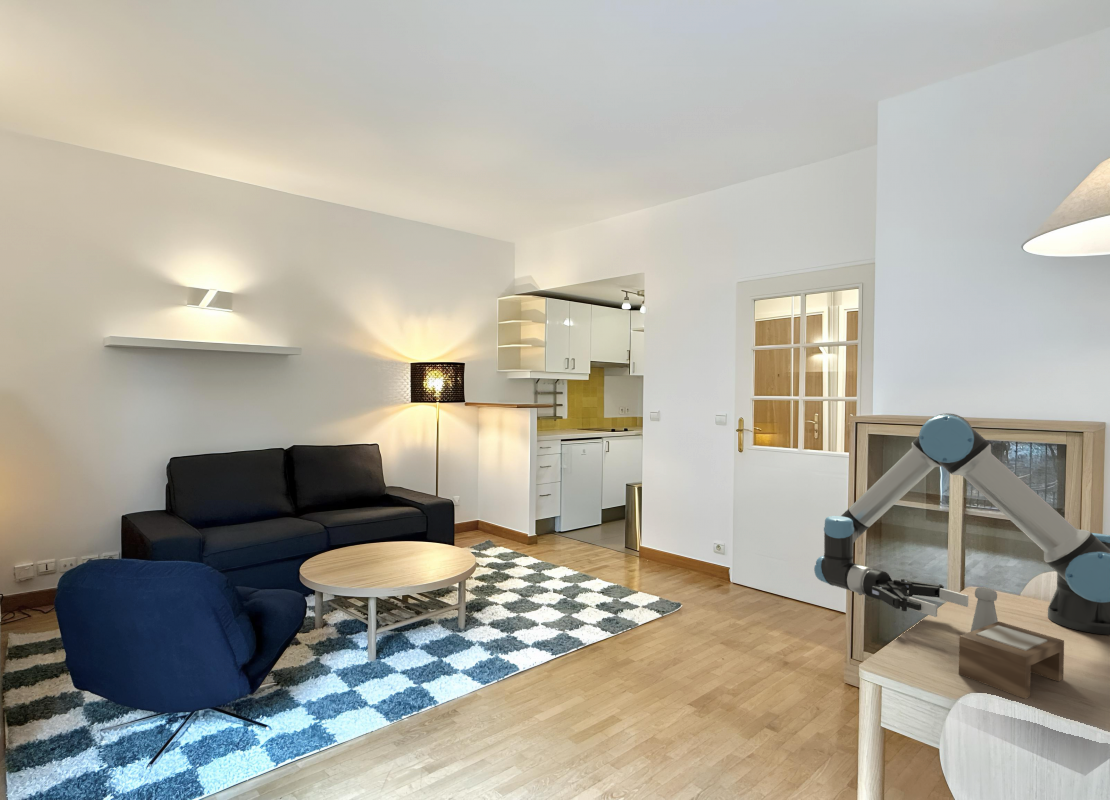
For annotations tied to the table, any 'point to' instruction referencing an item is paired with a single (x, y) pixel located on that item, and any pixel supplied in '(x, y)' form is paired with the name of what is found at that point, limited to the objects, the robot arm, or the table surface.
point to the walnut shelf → (1010, 657)
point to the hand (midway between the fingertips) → (952, 606)
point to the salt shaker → (984, 608)
